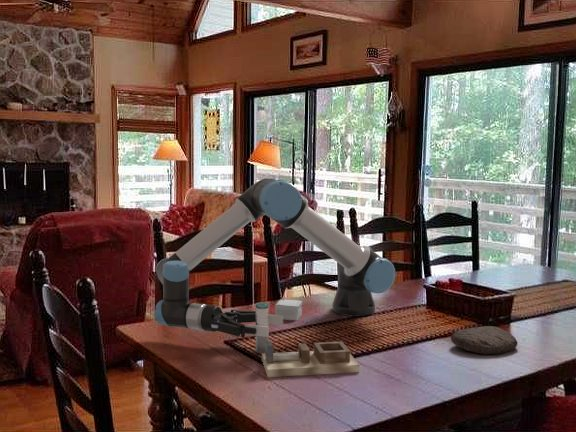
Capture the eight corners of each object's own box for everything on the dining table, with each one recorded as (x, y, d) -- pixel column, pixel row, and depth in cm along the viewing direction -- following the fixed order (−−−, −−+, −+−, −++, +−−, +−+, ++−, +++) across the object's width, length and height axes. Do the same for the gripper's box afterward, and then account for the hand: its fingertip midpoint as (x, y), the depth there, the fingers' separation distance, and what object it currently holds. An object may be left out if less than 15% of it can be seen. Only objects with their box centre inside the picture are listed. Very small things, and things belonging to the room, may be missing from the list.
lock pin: (297, 356, 163) (297, 339, 162) (299, 361, 159) (299, 344, 158) (265, 358, 161) (265, 341, 161) (267, 362, 158) (267, 345, 157)
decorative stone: (480, 361, 167) (480, 343, 167) (442, 346, 179) (443, 330, 179) (526, 349, 177) (527, 333, 177) (487, 336, 189) (488, 320, 189)
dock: (346, 356, 170) (347, 337, 169) (359, 372, 158) (359, 352, 157) (261, 360, 165) (261, 341, 165) (267, 377, 154) (268, 356, 153)
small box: (297, 321, 203) (297, 306, 202) (274, 319, 205) (274, 304, 204) (302, 314, 211) (302, 300, 210) (280, 313, 212) (280, 298, 212)
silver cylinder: (267, 349, 174) (267, 301, 173) (269, 353, 171) (269, 305, 169) (254, 349, 174) (255, 302, 172) (256, 354, 170) (256, 305, 169)
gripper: (222, 319, 189) (289, 327, 181) (185, 341, 167) (259, 352, 160) (222, 295, 188) (289, 303, 180) (185, 315, 166) (260, 324, 159)
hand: (275, 326), depth 170 cm, fingers open, 10 cm apart
